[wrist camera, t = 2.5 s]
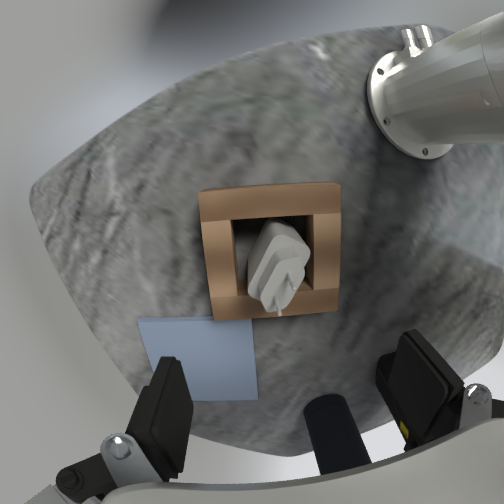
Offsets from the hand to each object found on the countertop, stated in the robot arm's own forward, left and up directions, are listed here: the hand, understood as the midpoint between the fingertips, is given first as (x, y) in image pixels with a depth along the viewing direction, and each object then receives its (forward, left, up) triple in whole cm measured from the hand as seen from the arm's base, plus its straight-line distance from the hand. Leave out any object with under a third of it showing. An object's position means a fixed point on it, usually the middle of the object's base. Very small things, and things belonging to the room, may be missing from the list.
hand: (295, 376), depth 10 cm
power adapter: (0, 0, -18) cm, 18 cm away
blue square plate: (+14, -9, -18) cm, 24 cm away
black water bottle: (+25, +7, -18) cm, 31 cm away
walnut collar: (0, 0, -18) cm, 18 cm away
